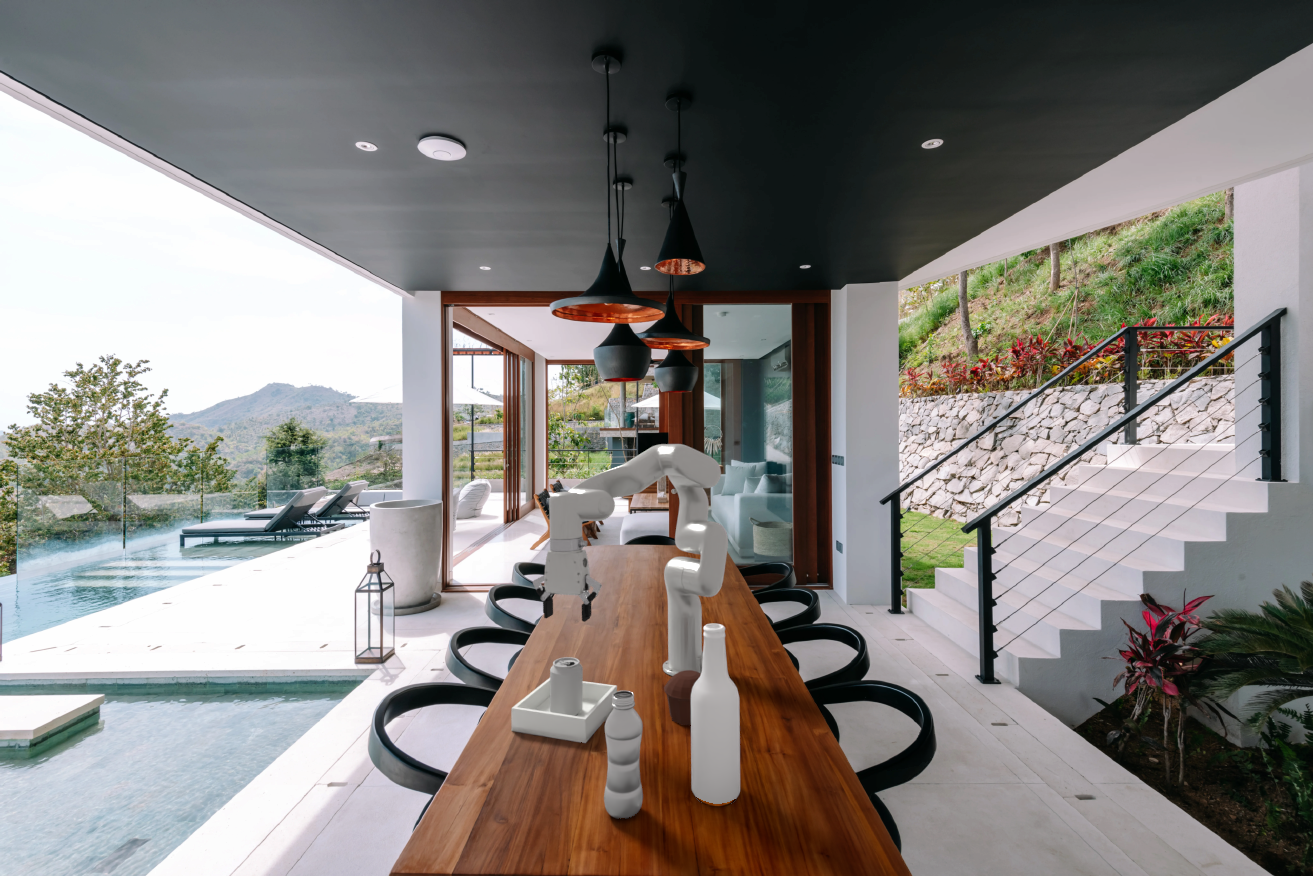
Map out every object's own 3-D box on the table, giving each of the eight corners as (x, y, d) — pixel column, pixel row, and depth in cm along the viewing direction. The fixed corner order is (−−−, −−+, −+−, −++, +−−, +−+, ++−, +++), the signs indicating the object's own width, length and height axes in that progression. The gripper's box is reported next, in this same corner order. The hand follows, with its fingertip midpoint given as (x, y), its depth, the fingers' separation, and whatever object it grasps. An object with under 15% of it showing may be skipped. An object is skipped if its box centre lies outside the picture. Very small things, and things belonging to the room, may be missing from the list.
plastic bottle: (604, 801, 100) (603, 687, 100) (642, 799, 100) (641, 686, 101) (603, 826, 93) (603, 704, 94) (644, 823, 94) (643, 702, 94)
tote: (616, 706, 137) (616, 685, 137) (585, 743, 120) (585, 719, 120) (550, 697, 142) (550, 677, 143) (511, 731, 125) (511, 708, 125)
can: (577, 721, 127) (577, 668, 127) (545, 719, 128) (545, 666, 129) (586, 706, 135) (586, 656, 135) (555, 704, 136) (556, 654, 136)
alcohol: (705, 813, 96) (704, 636, 97) (683, 785, 104) (681, 622, 105) (749, 800, 100) (748, 630, 100) (724, 774, 108) (723, 616, 109)
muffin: (688, 701, 140) (688, 660, 140) (723, 716, 132) (723, 673, 132) (653, 717, 131) (653, 674, 131) (689, 734, 123) (688, 688, 124)
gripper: (606, 543, 133) (607, 616, 133) (541, 541, 138) (542, 611, 138) (593, 549, 126) (594, 626, 126) (525, 546, 131) (526, 620, 131)
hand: (567, 618), depth 132 cm, fingers open, 9 cm apart
